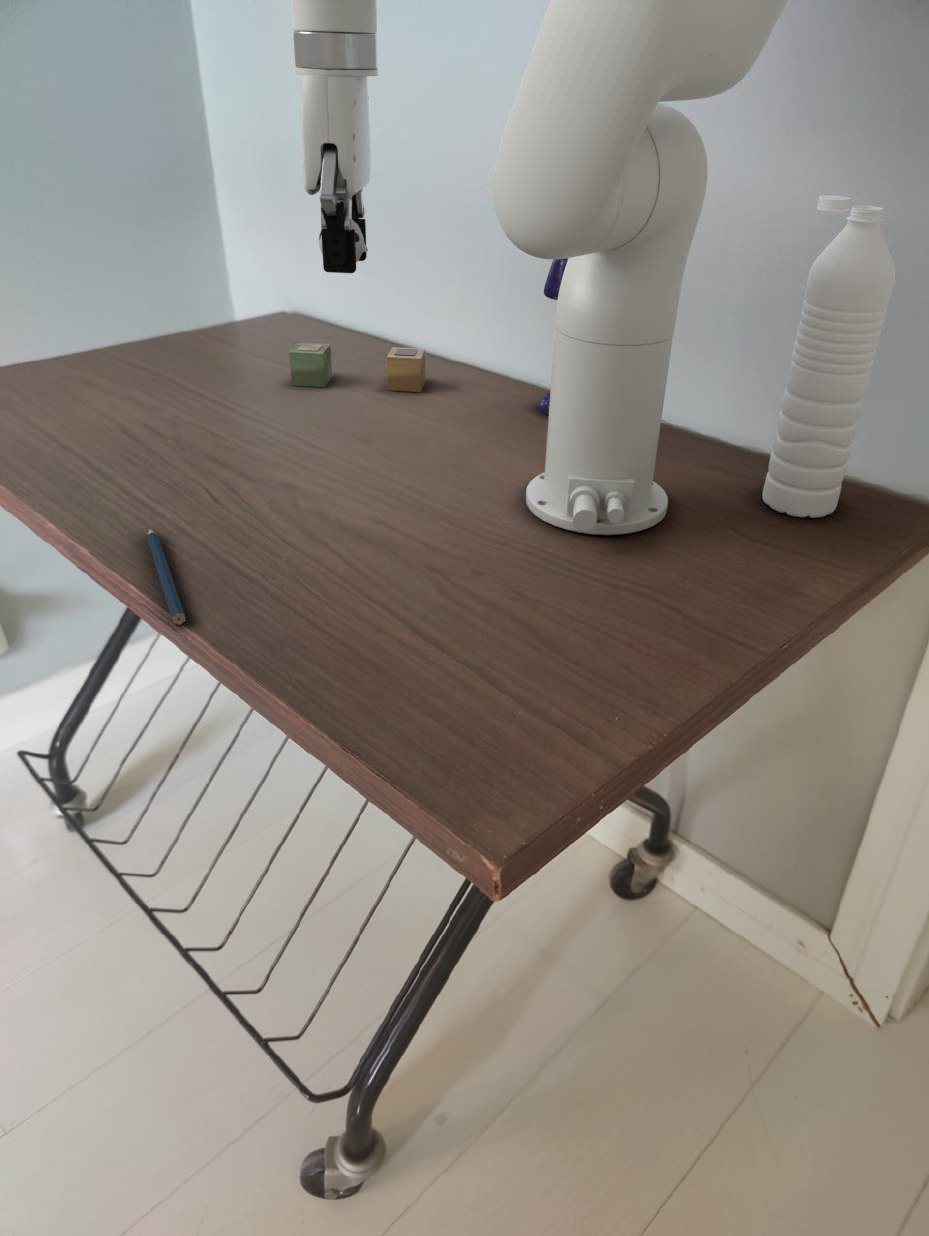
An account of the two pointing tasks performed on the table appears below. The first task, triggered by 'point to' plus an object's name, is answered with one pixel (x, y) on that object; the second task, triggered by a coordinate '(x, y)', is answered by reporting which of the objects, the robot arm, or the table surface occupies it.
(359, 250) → the figurine
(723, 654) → the table surface
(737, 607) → the table surface
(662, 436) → the table surface
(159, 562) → the pencil
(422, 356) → the block row
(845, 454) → the water bottle
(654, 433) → the robot arm
